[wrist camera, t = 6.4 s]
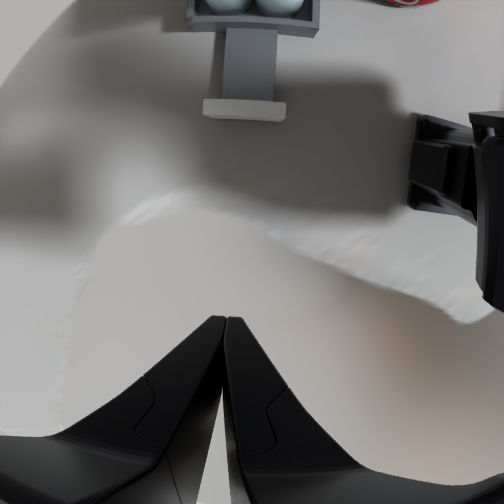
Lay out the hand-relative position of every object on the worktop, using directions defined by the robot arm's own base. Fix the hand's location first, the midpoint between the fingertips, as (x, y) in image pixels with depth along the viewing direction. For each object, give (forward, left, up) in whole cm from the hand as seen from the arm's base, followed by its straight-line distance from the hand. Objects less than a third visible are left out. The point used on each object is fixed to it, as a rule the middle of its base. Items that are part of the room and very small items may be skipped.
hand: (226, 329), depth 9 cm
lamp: (0, -11, -13) cm, 17 cm away
